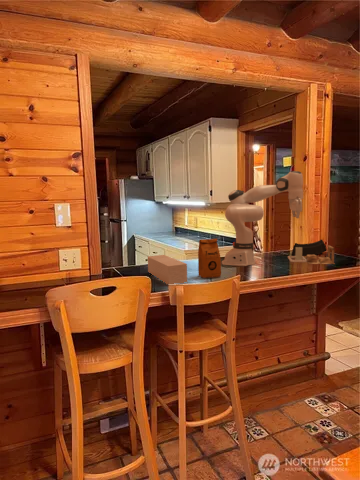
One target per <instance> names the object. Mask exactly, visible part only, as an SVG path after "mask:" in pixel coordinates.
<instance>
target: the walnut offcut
mask: <svg viewBox="0 0 360 480" xmlns="http://www.w3.org/2000/svg"><path fill="white" fill-rule="evenodd" d="M305 259H306V260H307V262H306V263H307V264H308V263H317V260H318V257H317V258H313V259H309V258H307V256H305Z"/></svg>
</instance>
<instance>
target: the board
mask: <svg viewBox="0 0 360 480" xmlns="http://www.w3.org/2000/svg"><path fill="white" fill-rule="evenodd" d="M294 260H303V259H302V247H296V254H295V258H294Z"/></svg>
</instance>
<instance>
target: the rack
mask: <svg viewBox="0 0 360 480" xmlns="http://www.w3.org/2000/svg"><path fill="white" fill-rule="evenodd" d="M307 264H309V265H311V264H313V265H318V264H319V265H321V264H322V265H335V247H333V246H331V245H327V256H318V259H317V263H307Z"/></svg>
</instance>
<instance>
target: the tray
mask: <svg viewBox="0 0 360 480" xmlns="http://www.w3.org/2000/svg"><path fill="white" fill-rule="evenodd" d="M287 259H288V260H289V262H291V263H307V260H306V257H305V256H302V260H295V256H291V255H288V256H287Z"/></svg>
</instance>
